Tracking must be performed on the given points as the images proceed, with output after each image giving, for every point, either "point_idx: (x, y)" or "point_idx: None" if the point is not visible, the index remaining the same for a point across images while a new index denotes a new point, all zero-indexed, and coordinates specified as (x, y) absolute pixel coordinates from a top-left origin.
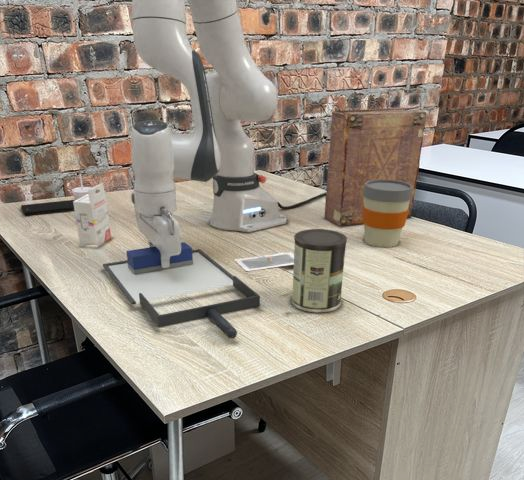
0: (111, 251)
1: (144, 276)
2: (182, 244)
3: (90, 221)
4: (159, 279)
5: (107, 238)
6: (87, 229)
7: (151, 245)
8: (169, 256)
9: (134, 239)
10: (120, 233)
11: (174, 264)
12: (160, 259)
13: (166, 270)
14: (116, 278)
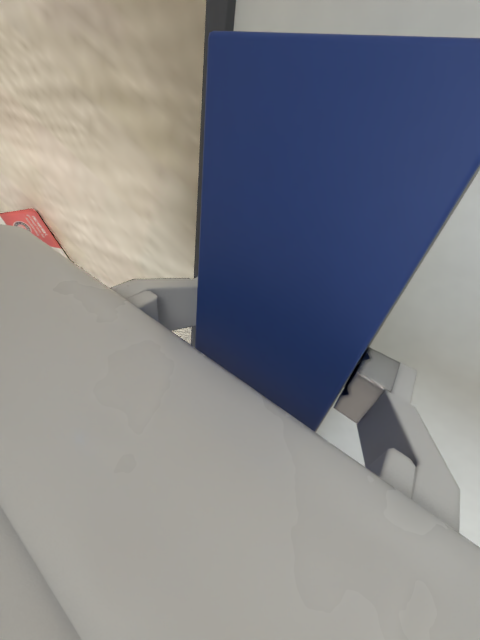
0: (103, 273)
1: (356, 443)
2: (271, 124)
3: None
4: (464, 465)
5: (41, 229)
6: None
7: (170, 323)
8: (431, 453)
9: (34, 150)
10: (6, 159)
11: (399, 297)
12: (347, 415)
13: (389, 347)
14: None
